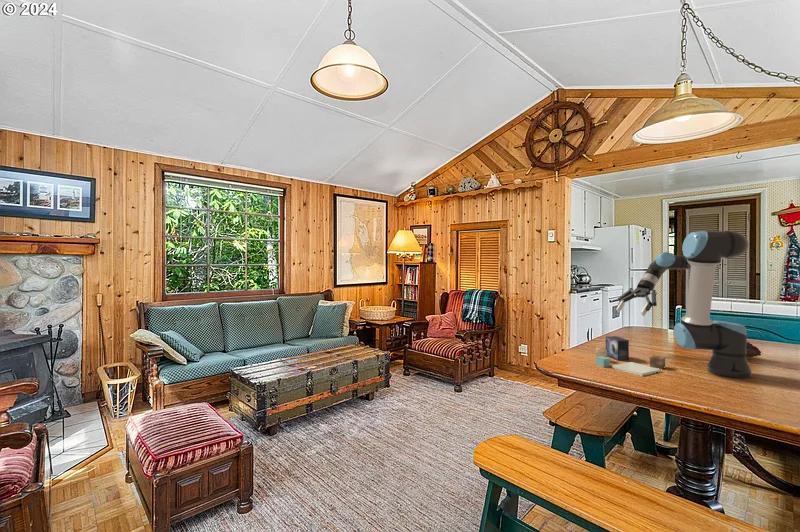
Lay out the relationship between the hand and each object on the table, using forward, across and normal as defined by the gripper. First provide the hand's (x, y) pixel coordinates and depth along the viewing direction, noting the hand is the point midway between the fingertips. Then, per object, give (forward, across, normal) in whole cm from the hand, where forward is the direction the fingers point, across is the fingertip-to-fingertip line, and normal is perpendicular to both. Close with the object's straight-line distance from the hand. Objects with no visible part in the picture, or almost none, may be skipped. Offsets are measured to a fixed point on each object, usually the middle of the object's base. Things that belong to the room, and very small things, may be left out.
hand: (629, 312), depth 205 cm
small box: (+24, 0, -9) cm, 26 cm away
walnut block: (+23, -20, -9) cm, 32 cm away
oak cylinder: (+32, 0, 0) cm, 32 cm away
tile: (+32, -18, 0) cm, 37 cm away
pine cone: (-15, -31, -48) cm, 58 cm away
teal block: (+37, -6, +5) cm, 38 cm away
